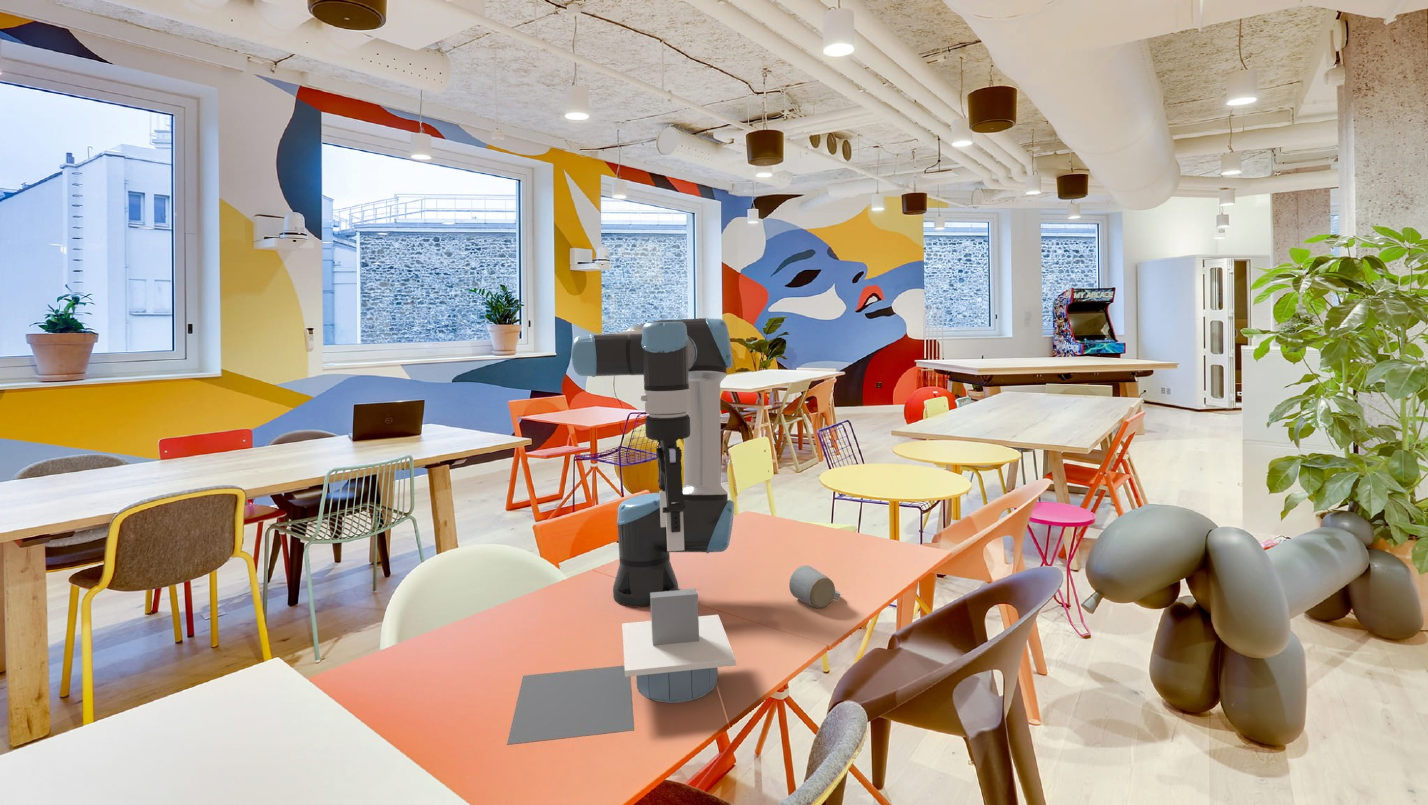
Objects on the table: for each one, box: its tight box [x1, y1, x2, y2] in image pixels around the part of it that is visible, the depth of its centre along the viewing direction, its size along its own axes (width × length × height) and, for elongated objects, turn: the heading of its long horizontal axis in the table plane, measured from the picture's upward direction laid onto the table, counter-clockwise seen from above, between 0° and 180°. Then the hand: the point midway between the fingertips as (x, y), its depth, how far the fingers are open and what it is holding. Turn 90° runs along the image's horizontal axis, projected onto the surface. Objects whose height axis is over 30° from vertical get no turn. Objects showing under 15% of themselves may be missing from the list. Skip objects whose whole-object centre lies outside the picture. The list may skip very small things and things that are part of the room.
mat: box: [506, 665, 635, 746], centre depth 116 cm, size 21×19×1 cm
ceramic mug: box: [788, 564, 841, 609], centre depth 156 cm, size 11×8×8 cm
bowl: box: [635, 667, 719, 704], centre depth 122 cm, size 14×14×7 cm
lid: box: [621, 588, 737, 677], centre depth 121 cm, size 18×18×10 cm
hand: (671, 537), depth 119 cm, fingers open, 13 cm apart
